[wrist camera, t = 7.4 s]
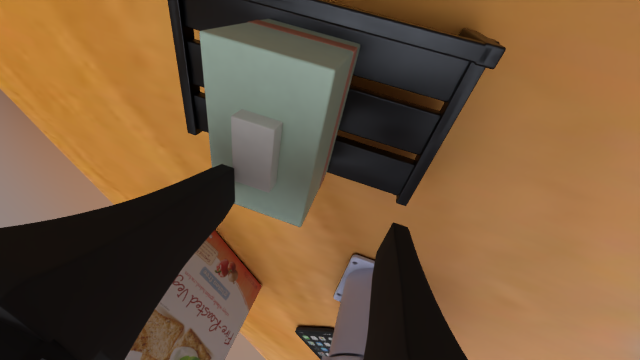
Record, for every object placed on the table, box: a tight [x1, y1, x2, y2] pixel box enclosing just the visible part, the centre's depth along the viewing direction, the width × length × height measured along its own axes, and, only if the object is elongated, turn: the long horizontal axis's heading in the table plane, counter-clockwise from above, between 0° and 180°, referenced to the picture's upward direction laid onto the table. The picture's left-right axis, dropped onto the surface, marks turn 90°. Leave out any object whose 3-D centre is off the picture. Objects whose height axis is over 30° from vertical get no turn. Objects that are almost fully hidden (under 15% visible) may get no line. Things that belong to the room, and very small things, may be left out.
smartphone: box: [295, 327, 334, 359], centre depth 42 cm, size 7×1×15 cm
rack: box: [168, 0, 506, 206], centre depth 16 cm, size 10×16×6 cm, turn 79°
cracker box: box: [125, 230, 261, 360], centre depth 27 cm, size 14×6×21 cm, turn 27°
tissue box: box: [199, 19, 360, 227], centre depth 13 cm, size 8×5×6 cm, turn 169°
